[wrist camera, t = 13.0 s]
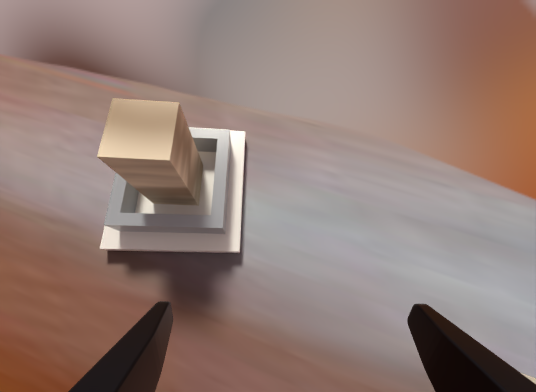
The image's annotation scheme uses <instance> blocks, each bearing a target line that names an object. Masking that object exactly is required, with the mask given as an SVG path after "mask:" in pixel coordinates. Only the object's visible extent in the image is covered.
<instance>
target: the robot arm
mask: <svg viewBox="0 0 536 392" xmlns="http://www.w3.org/2000/svg"><path fill="white" fill-rule="evenodd" d="M172 324H173V314H172V308H171V303H170V302H164V301H160V302H158V303H156V304H155V305H154V306H153V307H152V308H151V309H150V310H149V311H148V312H147V313H146V314H145V315H144V316H143V317H142V318H141V319H140V320H139V321H138V322H137V323H136V324H135V325H134V326H133V327H132V328H131V329H130V330H129V331H128V332H127V333H126V334H125V335H124V336H123V337H122V338H121V339H120V340H119V341H118V342H117V343H116V344H115V345H114V346H113V347H112V348H111V349H110V350H109V351H108V352H107V353H106V354H105V355H104V356H103V357H102V358H101V359H100V360H99V361H98V362H97V363H96V364H95V365H94V366H93V367H92V368H91V369H90V370H89V371H88V372H87V373H86V374H85V375H84V376H83V377H82V378H81V379H80V380H79V381H78V382H77V383H76V384H75V385H74V386H73V387H72V388H71V389H70V390H69V391H68V392H155V390H156V387H157V384H158V381H159V378H160V374H161V371H162V367H163V363H164V359H165V354H166V350H167V346H168V341H169V337H170V333H171V328H172ZM408 326H409V329H410V331H411V334H412V337H413V339H414V342H415V345H416V348H417V350H418V353H419V356H420V358H421V361H422V363H423V366H424V368H425V371H426V373H427V375H428V377H429V379H430V381H431V383H432V385H433V388H434V390H435V392H536V384H535V383H534V382H532V381H531V380H529V379H528V378H527V377H525V376H524V375H523V374H521V373H520V372H518V371H517V370H516V369H514V368H513V367H512V366H510V365H509V364H508V363H506V362H505V361H503V360H502V359H501V358H499V357H498V356H497V355H495V354H494V353H493V352H491V351H490V350H488V349H487V348H486V347H484V346H483V345H482V344H480V343H479V342H477V341H476V340H475V339H473V338H472V337H471V336H469V335H468V334H467V333H465V332H464V331H462V330H461V329H460V328H458V327H457V326H456V325H454V324H453V323H452V322H450V321H449V320H447V319H446V318H445V317H443V316H442V315H441V314H439V313H438V312H436V311H435V310H434V309H432V308H431V307H430V306H428V305H426V304H414V305H413V307H412V309H411V312H410V314H409V316H408Z"/></svg>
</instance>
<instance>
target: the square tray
mask: <svg viewBox="0 0 536 392" xmlns="http://www.w3.org/2000/svg"><path fill="white" fill-rule="evenodd" d="M189 130H190V132H191V135H192V137H193V140H194V143H195V145H196V148H197V150H198V153H199V156H200V158H201V161H202V163H203V172H202V181H201V190H200V199H199V206H197V205H172V204H153V203H152V202H151V201H150V200H148V199H147V198H146V197H145V196H144V195H142V194H141V193H140V192H139V191H138V190H136V189H135V188H134V187H133V186H132V185H130V184H129V183H128V182H127V181H126V180H124V179H123V178H122V177H121V176H120V175H118V174H117V173H115V178H114V182H113V186H112V191H111V195H110V200H109V204H108V209H107V213H106V218H105V222H104V225H105V227H104V232H103V236H102V241H101V245H100V249H103V250H113V251H162V252H211V253H240V239H241V218H242V197H243V176H244V154H245V131H230V130H229V129H210V128H190V127H189Z"/></svg>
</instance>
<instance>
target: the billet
mask: <svg viewBox="0 0 536 392" xmlns="http://www.w3.org/2000/svg"><path fill="white" fill-rule="evenodd" d="M97 157H98V158H99V159H101V160H102V161H103V162H104V163H105V164H107V165H108V166H109V167H110V168H111V169H113V170H114V171H115V172H116V173H117V174H118V175H120V176H121V177H122V178H123V179H124V180H126V181H127V182H128V183H129V184H130V185H132V186H133V187H134V188H135V189H136V190H138V191H139V192H140V193H141V194H142V195H144V196H145V197H146V198H147V199H148V200H150V201H151V202H152V203H153V204H172V205H197V206H199V199H200V190H201V181H202V172H203V163H202V161H201V158H200V156H199V153H198V150H197V148H196V145H195V143H194V140H193V137H192V135H191V132H190V130H189V127H188V125H187V122H186V119H185V117H184V114H183V112H182V109H181V106H180V104H179V102H163V101H148V100H132V99H116V98H113V99H112V103H111V106H110V110H109V114H108V118H107V121H106V125H105V129H104V133H103V136H102V140H101V144H100V148H99V151H98V155H97Z"/></svg>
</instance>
